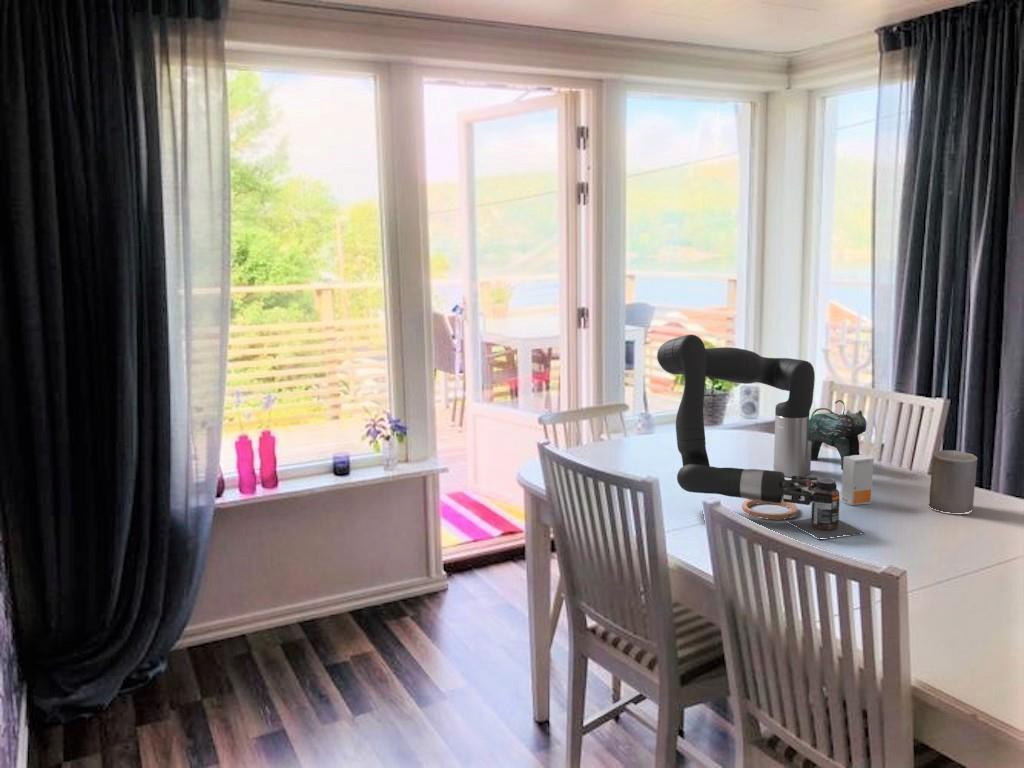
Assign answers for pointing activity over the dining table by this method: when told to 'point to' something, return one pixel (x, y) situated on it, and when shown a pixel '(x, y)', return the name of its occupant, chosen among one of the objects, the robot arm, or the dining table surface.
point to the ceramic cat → (836, 432)
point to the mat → (840, 531)
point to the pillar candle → (953, 481)
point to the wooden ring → (768, 515)
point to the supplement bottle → (826, 506)
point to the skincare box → (857, 479)
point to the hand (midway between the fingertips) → (834, 493)
